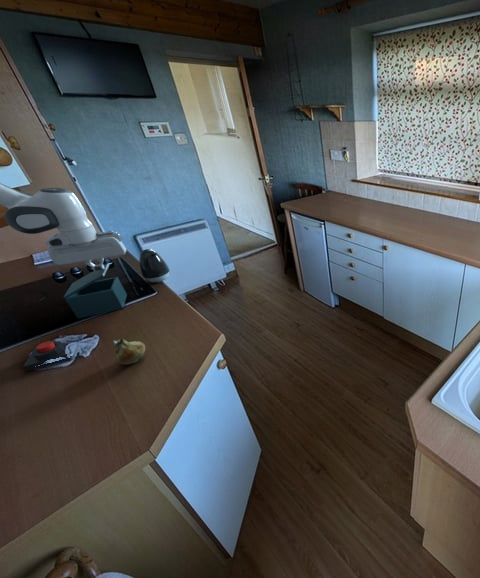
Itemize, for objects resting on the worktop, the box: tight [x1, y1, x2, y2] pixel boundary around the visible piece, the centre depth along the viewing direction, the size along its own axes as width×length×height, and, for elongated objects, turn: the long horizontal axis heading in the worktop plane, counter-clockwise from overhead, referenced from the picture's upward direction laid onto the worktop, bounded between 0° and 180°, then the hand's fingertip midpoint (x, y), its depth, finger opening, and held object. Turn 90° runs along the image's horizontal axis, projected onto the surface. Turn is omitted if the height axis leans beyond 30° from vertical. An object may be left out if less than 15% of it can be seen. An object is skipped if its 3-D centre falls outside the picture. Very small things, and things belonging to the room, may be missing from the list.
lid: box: [63, 262, 110, 300], centre depth 111 cm, size 14×12×1 cm
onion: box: [112, 338, 146, 366], centre depth 90 cm, size 8×8×8 cm
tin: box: [64, 276, 128, 320], centre depth 115 cm, size 14×12×9 cm
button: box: [35, 340, 56, 353], centre depth 90 cm, size 4×4×2 cm
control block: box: [22, 339, 75, 372], centre depth 92 cm, size 10×8×4 cm
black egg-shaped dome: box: [139, 248, 170, 283], centre depth 132 cm, size 10×10×15 cm
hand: (99, 269), depth 111 cm, fingers closed
